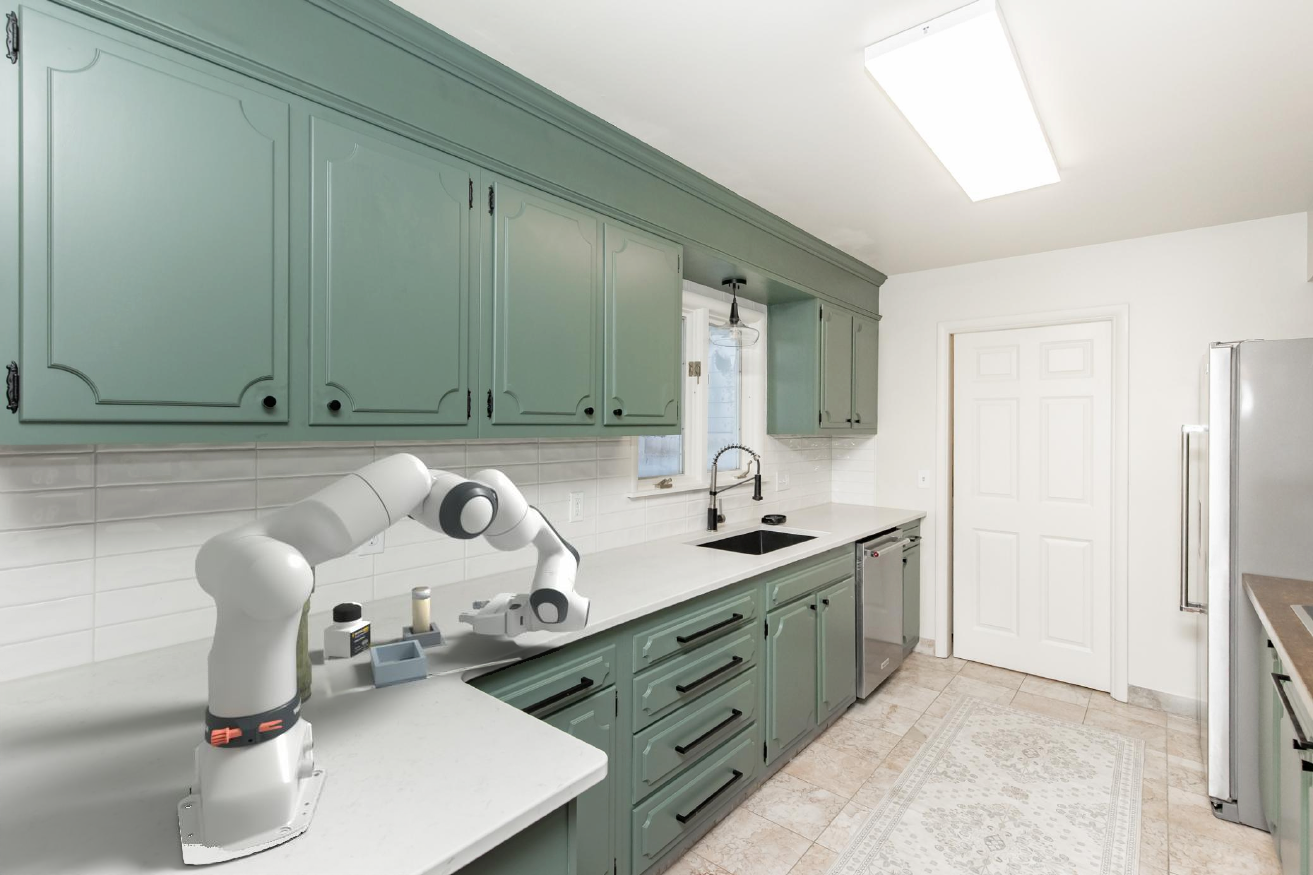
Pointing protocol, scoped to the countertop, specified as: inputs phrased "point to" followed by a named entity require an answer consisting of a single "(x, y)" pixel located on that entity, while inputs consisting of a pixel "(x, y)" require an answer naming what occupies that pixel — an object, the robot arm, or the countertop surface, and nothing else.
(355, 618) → the medicine bottle
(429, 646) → the socket block
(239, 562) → the robot arm
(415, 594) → the fuse
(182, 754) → the countertop surface
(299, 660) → the thermos
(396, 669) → the parts tray
